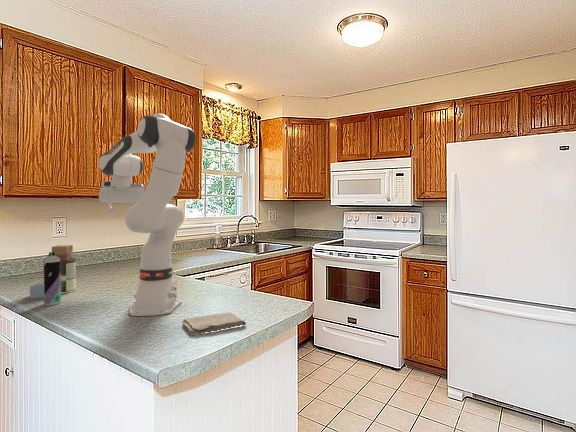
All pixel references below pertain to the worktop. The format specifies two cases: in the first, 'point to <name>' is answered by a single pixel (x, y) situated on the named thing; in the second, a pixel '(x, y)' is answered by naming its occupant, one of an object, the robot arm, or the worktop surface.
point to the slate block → (37, 290)
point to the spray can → (52, 280)
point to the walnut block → (63, 252)
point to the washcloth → (211, 323)
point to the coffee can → (68, 276)
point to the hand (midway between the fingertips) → (122, 212)
